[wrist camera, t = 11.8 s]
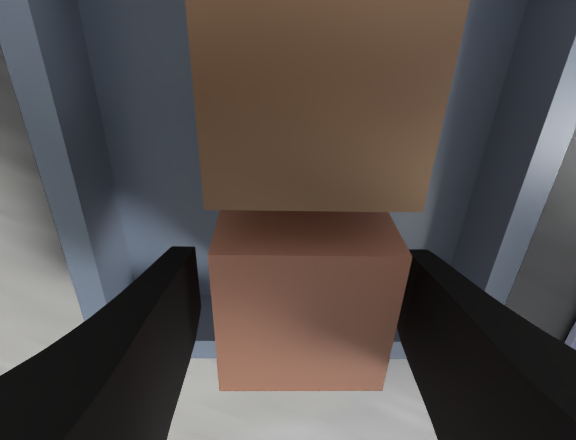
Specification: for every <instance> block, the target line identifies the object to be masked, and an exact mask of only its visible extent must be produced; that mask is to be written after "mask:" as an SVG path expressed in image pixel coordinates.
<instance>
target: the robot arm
mask: <svg viewBox="0 0 576 440" xmlns="http://www.w3.org/2000/svg"><path fill="white" fill-rule="evenodd" d="M408 250H409V251H410V253H411V255H412V261H411V266H410V270H409V275H408V279H407V283H406V288H405V292H404V297H403V301H402V306H401V310H400V315H399V319H398V323H397V330H398V334H399V338H400V341H401V344H402V347H403V350H404V352H405V355H406V357H407V360H408V363H409V365H410V368H411V370H412V373H413V376H414V378H415V381H416V383H417V386H418V388H419V391H420V393H421V396H422V398H423V401H424V403H425V406H426V409H427V411H428V414H429V416H430V419H431V421H432V424H433V427H434V430H435V433H436V436H437V439H438V440H576V322H575V324H574V326H573V327H572V329H571V331H570V333H569V335H568V337H567V339H566V341H565V343H563V342H561V341H560V340H558V339H556V338H554V337H553V336H551V335H549V334H548V333H546V332H544V331H543V330H541V329H540V328H538V327H536V326H535V325H533V324H532V323H530V322H529V321H527V320H526V319H524V318H523V317H521V316H520V315H518V314H517V313H515V312H514V311H512V310H510V309H509V308H508V307H506V306H505V305H503V304H502V303H500V302H499V301H498V300H496V299H495V298H493V297H492V296H491V295H489V294H488V293H486V292H485V291H484V290H482V289H481V288H480V287H478V286H477V285H475V284H474V283H473V282H471V281H470V280H469V279H467V278H466V277H465V276H463V275H462V274H461V273H460V272H458V271H457V270H456V269H454V268H453V267H452V266H450V265H449V264H448V263H446V262H445V261H444V260H442V259H441V258H439V257H438V256H437V255H435V254H434V253H432V252H431V251H429V250H424V249H408ZM200 312H201V298H200V288H199V279H198V269H197V259H196V250H195V247H190V246H172V247H170V248H169V249H168V250H167V251H166V252H165V253H164V254H163V255H161V256H160V257H159V258H158V259H157V260H156V261H155V262H154V263H153V264H152V265H151V266H150V267H149V268H147V269H146V270H145V271H144V272H143V273H142V274H141V275H140V276H139V277H138V278H137V279H135V280H134V281H133V282H132V283H131V284H130V285H129V286H128V287H126V288H125V289H124V290H123V291H122V292H121V293H120V294H118V295H117V296H116V297H115V298H113V299H112V300H111V301H110V302H108V303H107V304H106V305H105V306H103V307H102V308H101V309H100V310H99V311H97V312H96V313H95V314H94V315H92V316H91V317H90V318H89V319H87V320H86V321H85V322H83V323H82V324H80V325H79V326H78V327H76V328H75V329H74V330H72V331H71V332H69V333H68V334H66V335H65V336H63V337H62V338H60V339H59V340H58V341H56V342H55V343H53V344H52V345H50V346H49V347H47V348H46V349H44V350H43V351H41V352H39V353H38V354H36V355H35V356H33V357H31V358H30V359H28V360H26V361H24V362H23V363H21V364H19V365H18V366H16V367H14V368H13V369H11V370H9V371H8V372H6V373H4V374H3V375H1V376H0V440H167V436H168V432H169V429H170V425H171V421H172V418H173V415H174V411H175V408H176V405H177V401H178V398H179V395H180V391H181V388H182V385H183V382H184V378H185V375H186V372H187V368H188V365H189V362H190V358H191V355H192V352H193V348H194V345H195V341H196V336H197V330H198V325H199V318H200Z"/></svg>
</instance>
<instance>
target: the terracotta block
mask: <svg viewBox="0 0 576 440" xmlns="http://www.w3.org/2000/svg"><path fill="white" fill-rule="evenodd" d="M411 261H412V255H411V253H410V251H409V250H408V248H407V246H406V244H405V242H404V240H403V238H402V236H401V235H400V233H399V231H398V229H397V227H396V225H395V223H394V221H393V220H392V218H391V216H390V214H389V212H338V211H250V210H220V212H219V216H218V219H217V223H216V226H215V230H214V234H213V237H212V241H211V244H210V248H209V251H208V265H209V277H210V288H211V300H212V311H213V322H214V334H215V345H216V356H217V368H218V379H219V390H220V391H382V390H383V386H384V381H385V377H386V372H387V368H388V363H389V359H390V355H391V350H392V346H393V341H394V337H395V332H396V328H397V323H398V319H399V315H400V310H401V306H402V301H403V297H404V292H405V288H406V283H407V279H408V275H409V270H410V266H411Z"/></svg>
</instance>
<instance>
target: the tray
mask: <svg viewBox="0 0 576 440" xmlns="http://www.w3.org/2000/svg"><path fill="white" fill-rule="evenodd" d="M0 45H1V48H2V52H3V55H4V58H5V62H6V65H7V68H8V71H9V75H10V78H11V81H12V85H13V88H14V91H15V94H16V98H17V101H18V104H19V108H20V111H21V114H22V117H23V121H24V124H25V127H26V131H27V134H28V137H29V140H30V144H31V147H32V150H33V154H34V157H35V160H36V164H37V167H38V170H39V173H40V177H41V180H42V183H43V187H44V190H45V193H46V196H47V200H48V203H49V206H50V210H51V213H52V216H53V219H54V223H55V226H56V229H57V233H58V236H59V239H60V242H61V246H62V249H63V252H64V256H65V259H66V262H67V266H68V269H69V272H70V275H71V279H72V282H73V285H74V289H75V292H76V295H77V298H78V302H79V305H80V308H81V312H82V315H83V318H84V321H86V320H87V319H89V318H90V317H91V316H92V315H94V314H95V313H96V312H97V311H99V310H100V309H101V308H102V307H103V306H105V305H106V304H107V303H108V302H110V301H111V300H112V299H113V298H115V297H116V296H117V295H118V294H120V293H121V292H122V291H123V290H124V289H125V288H126V287H128V286H129V285H130V284H131V283H132V282H133V281H134V280H135V279H137V278H138V277H139V276H140V275H141V274H142V273H143V272H144V271H145V270H146V269H147V268H149V267H150V266H151V265H152V264H153V263H154V262H155V261H156V260H157V259H158V258H159V257H160V256H161V255H163V254H164V253H165V252H166V251H167V250H168V249H169V248H170V247H172V246H190V247H195V250H196V259H197V269H198V279H199V288H200V298H201V312H200V318H199V325H198V330H197V336H196V341H195V345H194V348H193V352H192V355H191V358H217V356H216V345H215V334H214V322H213V311H212V300H211V288H210V277H209V265H208V251H209V248H210V244H211V241H212V237H213V234H214V230H215V226H216V223H217V219H218V216H219V212H220V210H204V203H203V192H202V181H201V170H200V159H199V148H198V137H197V126H196V116H195V105H194V94H193V83H192V72H191V61H190V50H189V39H188V28H187V17H186V6H185V0H0ZM575 128H576V0H470V3H469V7H468V12H467V16H466V21H465V25H464V30H463V34H462V39H461V43H460V48H459V52H458V57H457V61H456V66H455V70H454V75H453V79H452V84H451V88H450V93H449V97H448V102H447V106H446V111H445V115H444V120H443V124H442V129H441V133H440V138H439V142H438V147H437V151H436V156H435V160H434V165H433V169H432V174H431V178H430V183H429V187H428V192H427V196H426V201H425V205H424V210H423V212H389V214H390V216H391V218H392V220H393V221H394V223H395V225H396V227H397V229H398V231H399V233H400V235H401V236H402V238H403V240H404V242H405V244H406V246H407V248H408V249H424V250H429V251H431V252H432V253H434V254H435V255H437V256H438V257H439V258H441V259H442V260H444V261H445V262H446V263H448V264H449V265H450V266H452V267H453V268H454V269H456V270H457V271H458V272H460V273H461V274H462V275H463V276H465V277H466V278H467V279H469V280H470V281H471V282H473V283H474V284H475V285H477V286H478V287H480V288H481V289H482V290H484V291H485V292H486V293H488V294H489V295H491V296H492V297H493V298H495V299H496V300H498V301H499V302H500V303H502V304H503V305H505V304H506V301H507V299H508V296H509V294H510V291H511V289H512V286H513V284H514V281H515V279H516V276H517V274H518V271H519V269H520V266H521V264H522V261H523V259H524V256H525V254H526V251H527V249H528V246H529V244H530V241H531V239H532V236H533V234H534V231H535V229H536V226H537V224H538V221H539V219H540V216H541V214H542V211H543V208H544V206H545V203H546V201H547V198H548V196H549V193H550V191H551V188H552V186H553V183H554V181H555V178H556V176H557V173H558V171H559V168H560V166H561V163H562V161H563V158H564V156H565V153H566V151H567V148H568V146H569V143H570V141H571V138H572V136H573V133H574V131H575ZM390 359H407V357H406V355H405V352H404V350H403V347H402V344H401V341H400V338H399V334H398V330H397V328H396V332H395V337H394V341H393V346H392V350H391V355H390Z"/></svg>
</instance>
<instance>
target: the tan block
mask: <svg viewBox="0 0 576 440" xmlns="http://www.w3.org/2000/svg"><path fill="white" fill-rule="evenodd" d="M469 3H470V0H185V6H186V17H187V28H188V39H189V50H190V61H191V72H192V83H193V94H194V105H195V116H196V126H197V137H198V148H199V159H200V170H201V181H202V192H203V203H204V210H250V211H338V212H423V210H424V205H425V201H426V196H427V192H428V187H429V183H430V178H431V174H432V169H433V165H434V160H435V156H436V151H437V147H438V142H439V138H440V133H441V129H442V124H443V120H444V115H445V111H446V106H447V102H448V97H449V93H450V88H451V84H452V79H453V75H454V70H455V66H456V61H457V57H458V52H459V48H460V43H461V39H462V34H463V30H464V25H465V21H466V16H467V12H468V7H469Z"/></svg>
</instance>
